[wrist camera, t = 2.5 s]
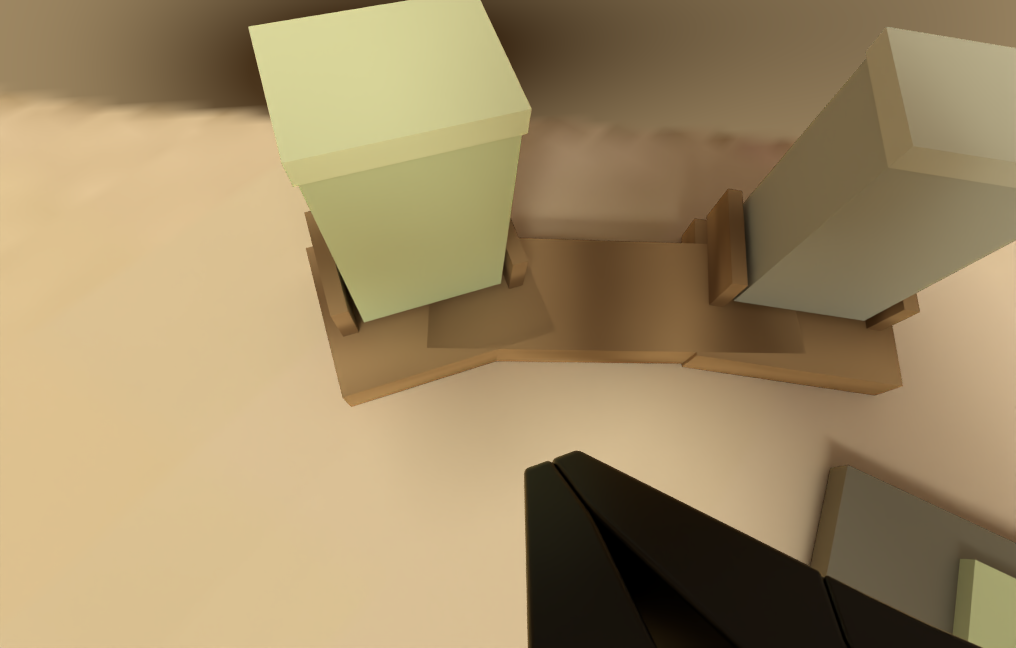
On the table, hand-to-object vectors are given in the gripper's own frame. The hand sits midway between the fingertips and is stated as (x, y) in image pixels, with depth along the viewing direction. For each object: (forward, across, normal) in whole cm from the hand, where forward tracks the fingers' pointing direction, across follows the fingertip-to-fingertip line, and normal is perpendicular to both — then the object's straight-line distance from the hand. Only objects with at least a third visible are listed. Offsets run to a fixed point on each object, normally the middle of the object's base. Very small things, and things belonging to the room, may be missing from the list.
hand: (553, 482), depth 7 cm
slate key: (+11, -15, +4) cm, 19 cm away
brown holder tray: (+13, -7, +4) cm, 15 cm away
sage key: (+15, 0, 0) cm, 15 cm away
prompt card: (+2, -14, +15) cm, 21 cm away
